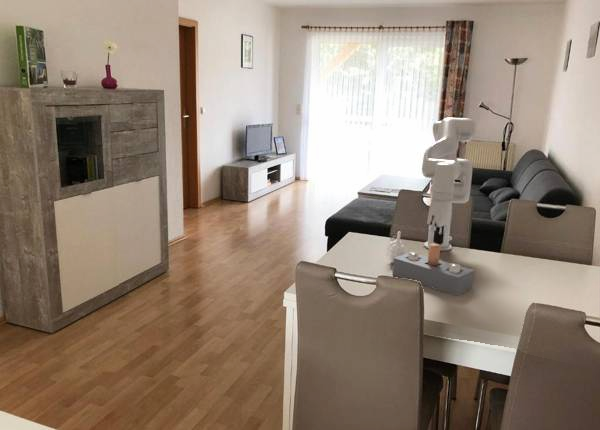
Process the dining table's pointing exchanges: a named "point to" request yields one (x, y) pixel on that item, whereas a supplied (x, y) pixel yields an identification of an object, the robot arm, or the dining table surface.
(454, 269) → the clear piece
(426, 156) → the robot arm
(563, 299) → the dining table surface
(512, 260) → the dining table surface
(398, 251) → the white tall piece
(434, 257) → the plunger mid
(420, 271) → the grey long block
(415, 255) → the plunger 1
